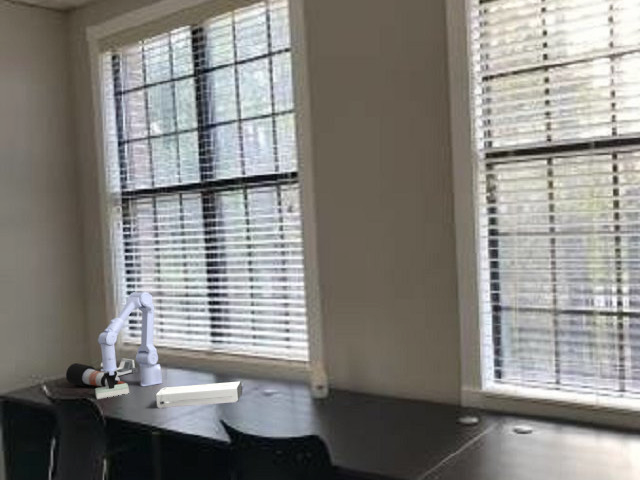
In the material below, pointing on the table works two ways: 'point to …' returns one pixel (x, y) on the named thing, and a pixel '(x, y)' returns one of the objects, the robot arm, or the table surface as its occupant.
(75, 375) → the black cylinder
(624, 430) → the table surface
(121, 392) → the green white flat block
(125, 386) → the cover
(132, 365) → the phone holder
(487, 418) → the table surface
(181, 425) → the table surface
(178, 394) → the laminator
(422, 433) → the table surface
